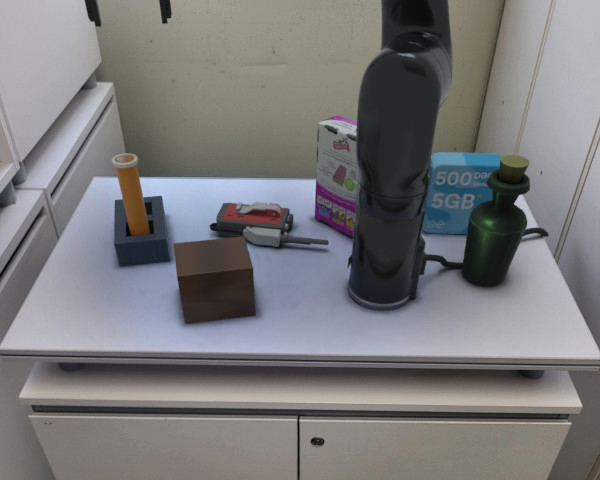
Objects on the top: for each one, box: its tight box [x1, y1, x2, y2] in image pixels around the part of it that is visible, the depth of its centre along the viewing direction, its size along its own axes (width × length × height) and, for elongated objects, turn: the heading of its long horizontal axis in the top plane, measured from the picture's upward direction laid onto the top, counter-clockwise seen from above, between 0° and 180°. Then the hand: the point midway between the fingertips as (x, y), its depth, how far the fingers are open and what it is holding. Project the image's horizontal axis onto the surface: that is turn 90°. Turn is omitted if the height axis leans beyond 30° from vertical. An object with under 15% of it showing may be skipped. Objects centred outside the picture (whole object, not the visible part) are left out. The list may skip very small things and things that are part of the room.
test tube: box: [111, 152, 150, 236], centre depth 89 cm, size 4×4×15 cm
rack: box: [113, 195, 171, 267], centre depth 95 cm, size 8×14×4 cm, turn 12°
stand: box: [172, 236, 257, 325], centre depth 83 cm, size 10×8×8 cm
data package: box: [422, 151, 502, 235], centre depth 96 cm, size 12×4×12 cm, turn 88°
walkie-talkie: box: [209, 201, 329, 248], centre depth 97 cm, size 9×4×20 cm
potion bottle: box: [461, 154, 531, 287], centre depth 84 cm, size 8×8×18 cm
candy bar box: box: [314, 115, 359, 239], centre depth 95 cm, size 11×5×16 cm, turn 44°
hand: (132, 23), depth 78 cm, fingers open, 8 cm apart
